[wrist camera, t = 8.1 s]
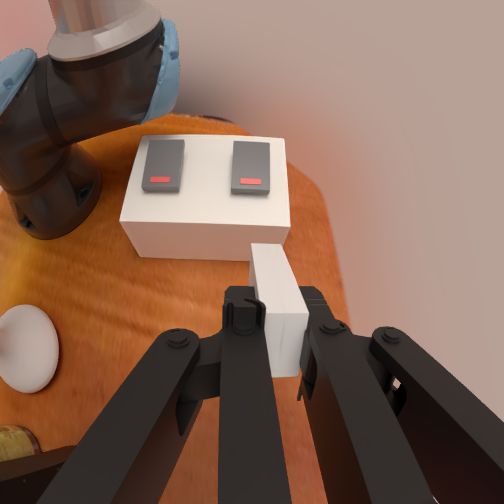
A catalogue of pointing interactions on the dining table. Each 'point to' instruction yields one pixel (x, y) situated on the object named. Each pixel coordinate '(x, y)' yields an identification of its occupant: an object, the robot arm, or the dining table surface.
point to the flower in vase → (27, 348)
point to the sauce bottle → (16, 443)
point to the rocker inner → (163, 165)
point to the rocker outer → (250, 167)
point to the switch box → (206, 204)
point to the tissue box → (30, 475)
